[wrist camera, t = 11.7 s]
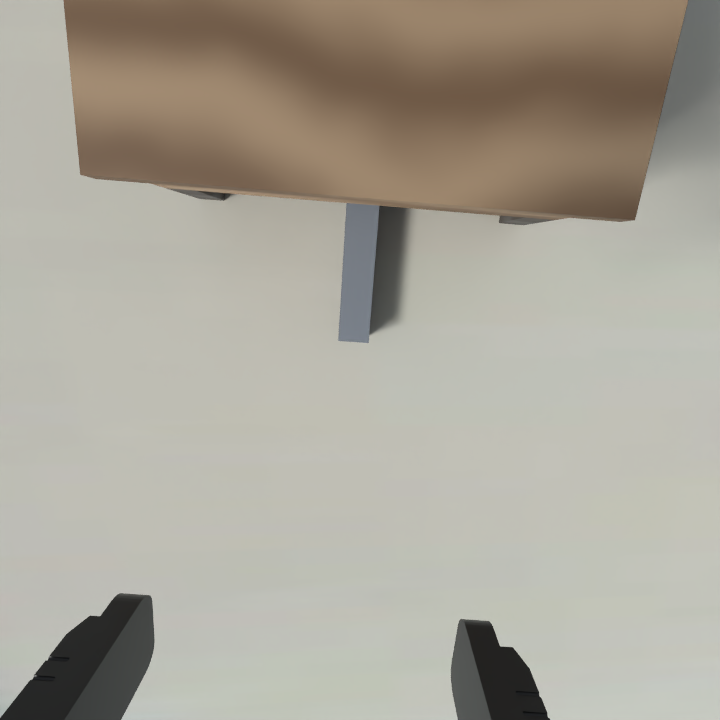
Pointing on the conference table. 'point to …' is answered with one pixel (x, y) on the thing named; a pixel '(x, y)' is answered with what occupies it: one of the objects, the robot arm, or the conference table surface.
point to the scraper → (358, 272)
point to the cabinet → (378, 100)
